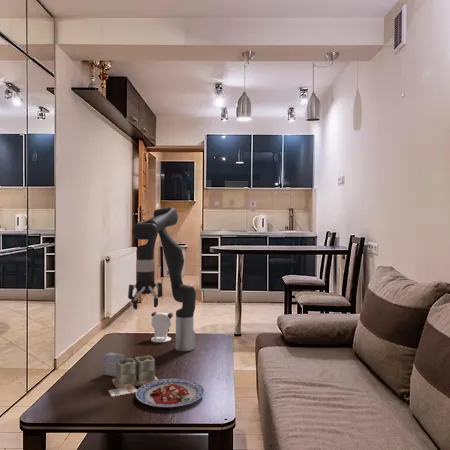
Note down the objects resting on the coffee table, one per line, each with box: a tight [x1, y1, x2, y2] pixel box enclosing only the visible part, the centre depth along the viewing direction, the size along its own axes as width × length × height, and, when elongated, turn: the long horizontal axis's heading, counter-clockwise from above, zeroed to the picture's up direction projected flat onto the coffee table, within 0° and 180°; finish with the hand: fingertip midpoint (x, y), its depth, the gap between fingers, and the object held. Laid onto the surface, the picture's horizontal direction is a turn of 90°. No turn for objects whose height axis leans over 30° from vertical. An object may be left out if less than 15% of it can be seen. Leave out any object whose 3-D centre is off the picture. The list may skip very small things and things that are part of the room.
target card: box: [108, 386, 138, 398], centre depth 162 cm, size 10×6×1 cm, turn 117°
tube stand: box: [111, 355, 159, 389], centre depth 173 cm, size 17×9×9 cm, turn 117°
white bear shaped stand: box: [150, 311, 174, 343], centre depth 235 cm, size 12×11×15 cm
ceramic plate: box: [135, 378, 205, 408], centre depth 158 cm, size 26×26×3 cm
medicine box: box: [103, 352, 125, 378], centre depth 180 cm, size 8×4×9 cm, turn 65°
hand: (145, 308), depth 177 cm, fingers open, 8 cm apart
